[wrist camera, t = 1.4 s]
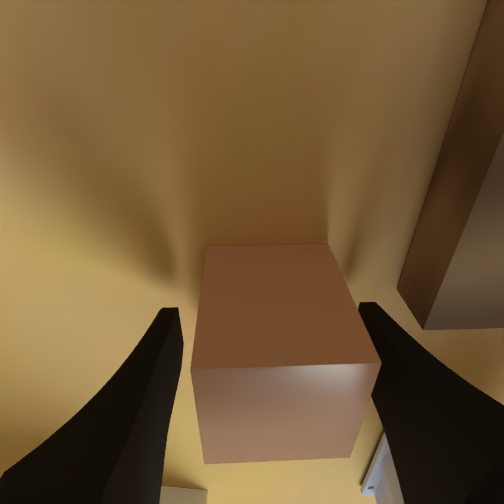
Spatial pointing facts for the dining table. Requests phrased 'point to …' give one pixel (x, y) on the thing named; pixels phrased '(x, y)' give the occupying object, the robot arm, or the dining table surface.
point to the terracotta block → (279, 356)
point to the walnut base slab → (465, 203)
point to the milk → (182, 496)
